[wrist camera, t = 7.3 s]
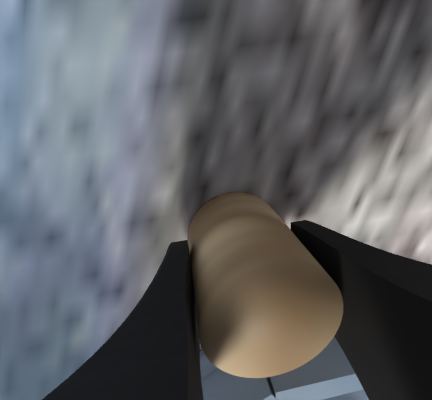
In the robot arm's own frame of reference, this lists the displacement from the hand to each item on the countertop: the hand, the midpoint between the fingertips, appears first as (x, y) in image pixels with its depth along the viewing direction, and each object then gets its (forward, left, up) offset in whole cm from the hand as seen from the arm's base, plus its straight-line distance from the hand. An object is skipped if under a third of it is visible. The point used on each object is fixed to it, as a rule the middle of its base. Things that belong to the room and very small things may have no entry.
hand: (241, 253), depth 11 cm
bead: (0, 0, -1) cm, 1 cm away
